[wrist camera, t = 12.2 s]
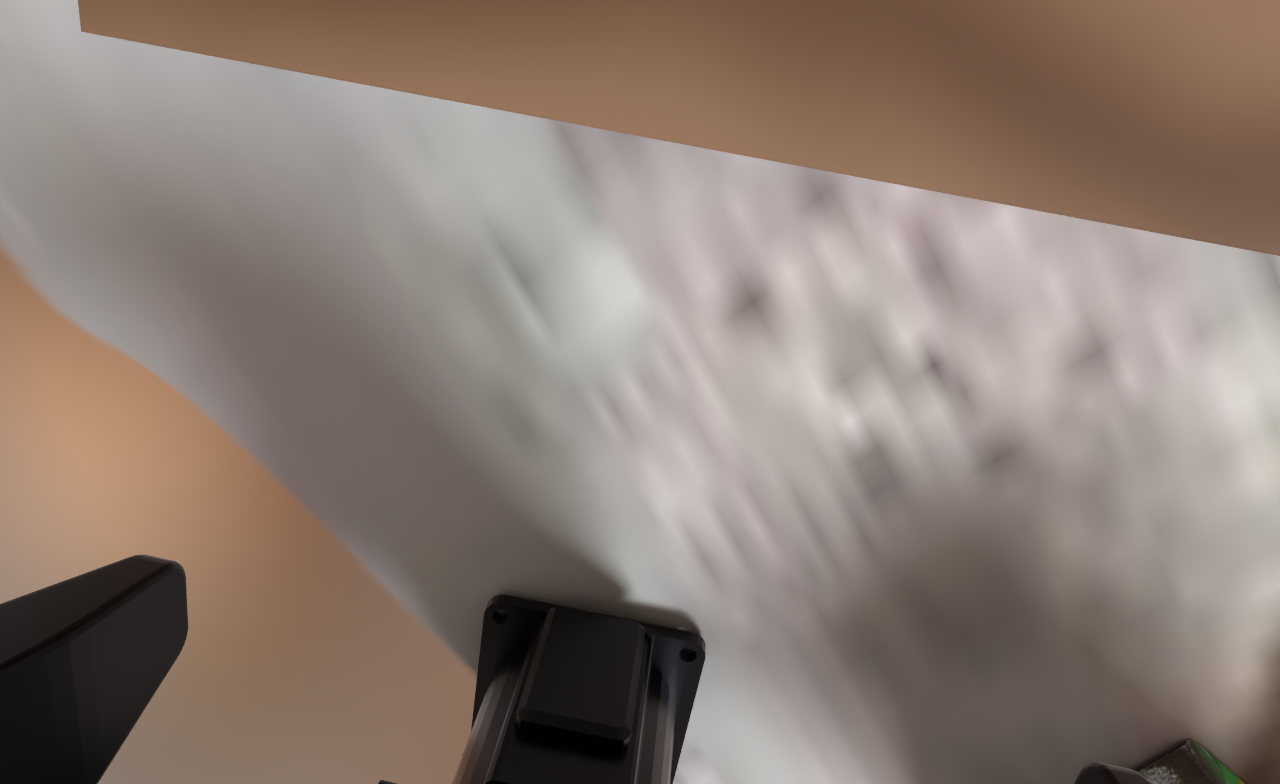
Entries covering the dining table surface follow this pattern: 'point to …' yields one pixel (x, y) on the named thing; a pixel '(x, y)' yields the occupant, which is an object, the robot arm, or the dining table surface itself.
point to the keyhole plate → (836, 86)
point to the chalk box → (1189, 768)
